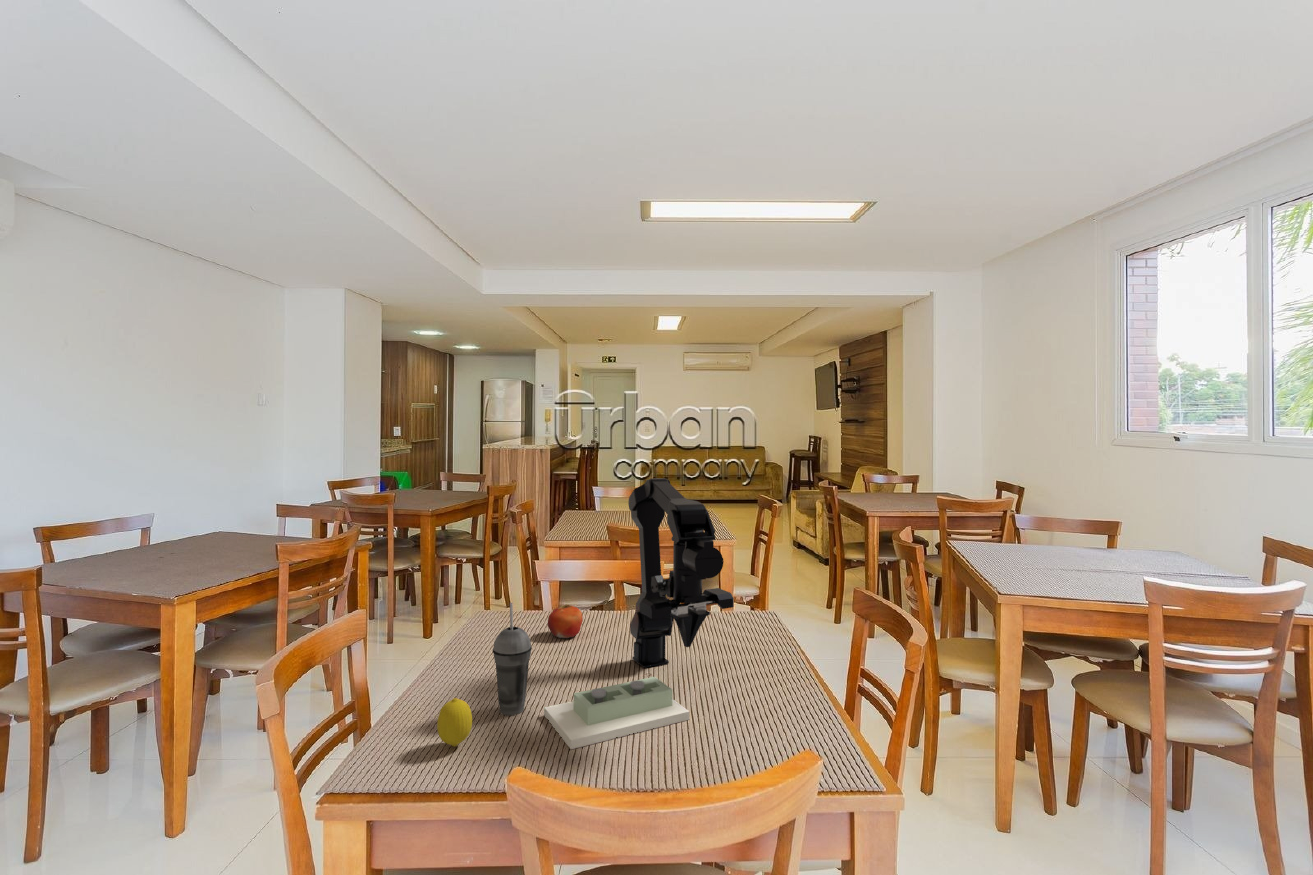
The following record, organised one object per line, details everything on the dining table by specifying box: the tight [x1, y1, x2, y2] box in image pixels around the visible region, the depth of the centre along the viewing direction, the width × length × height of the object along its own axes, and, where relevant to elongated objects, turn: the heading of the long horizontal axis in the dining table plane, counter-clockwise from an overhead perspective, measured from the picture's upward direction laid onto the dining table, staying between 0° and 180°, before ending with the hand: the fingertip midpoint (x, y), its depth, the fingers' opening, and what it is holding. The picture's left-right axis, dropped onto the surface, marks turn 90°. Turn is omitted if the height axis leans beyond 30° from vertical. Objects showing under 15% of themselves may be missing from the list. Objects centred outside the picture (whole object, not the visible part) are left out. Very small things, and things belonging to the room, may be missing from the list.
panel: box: [573, 676, 673, 725], centre depth 112 cm, size 17×7×3 cm, turn 119°
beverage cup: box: [492, 602, 533, 716], centre depth 114 cm, size 7×7×20 cm
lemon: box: [436, 697, 473, 748], centre depth 100 cm, size 6×6×8 cm
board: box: [543, 680, 690, 750], centre depth 111 cm, size 23×14×6 cm, turn 119°
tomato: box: [547, 604, 584, 639], centre depth 158 cm, size 9×9×8 cm
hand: (687, 646), depth 118 cm, fingers closed
